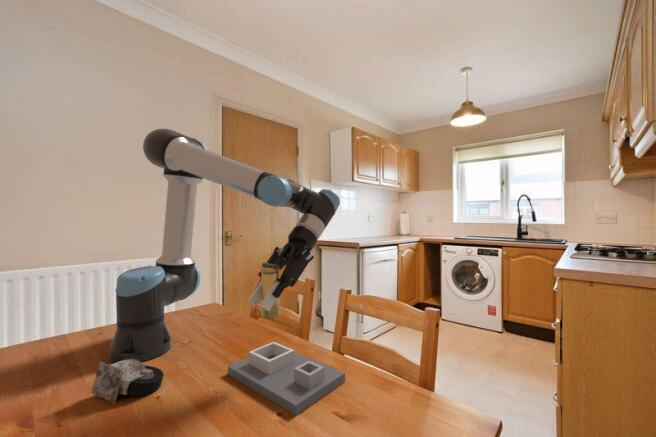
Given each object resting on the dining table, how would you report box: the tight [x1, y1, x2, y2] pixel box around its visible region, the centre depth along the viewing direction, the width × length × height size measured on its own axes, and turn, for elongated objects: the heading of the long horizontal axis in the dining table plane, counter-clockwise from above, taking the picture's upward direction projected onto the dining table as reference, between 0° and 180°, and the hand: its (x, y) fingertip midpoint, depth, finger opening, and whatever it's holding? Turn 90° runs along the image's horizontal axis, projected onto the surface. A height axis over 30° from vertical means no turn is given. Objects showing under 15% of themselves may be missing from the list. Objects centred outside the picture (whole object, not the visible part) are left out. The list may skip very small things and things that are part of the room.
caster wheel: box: [90, 359, 164, 404], centre depth 68 cm, size 7×11×10 cm
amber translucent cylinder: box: [259, 262, 281, 319], centre depth 76 cm, size 5×5×13 cm
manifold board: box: [227, 341, 346, 416], centre depth 73 cm, size 24×16×5 cm, turn 50°
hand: (258, 305), depth 73 cm, fingers closed on amber translucent cylinder, 4 cm apart
